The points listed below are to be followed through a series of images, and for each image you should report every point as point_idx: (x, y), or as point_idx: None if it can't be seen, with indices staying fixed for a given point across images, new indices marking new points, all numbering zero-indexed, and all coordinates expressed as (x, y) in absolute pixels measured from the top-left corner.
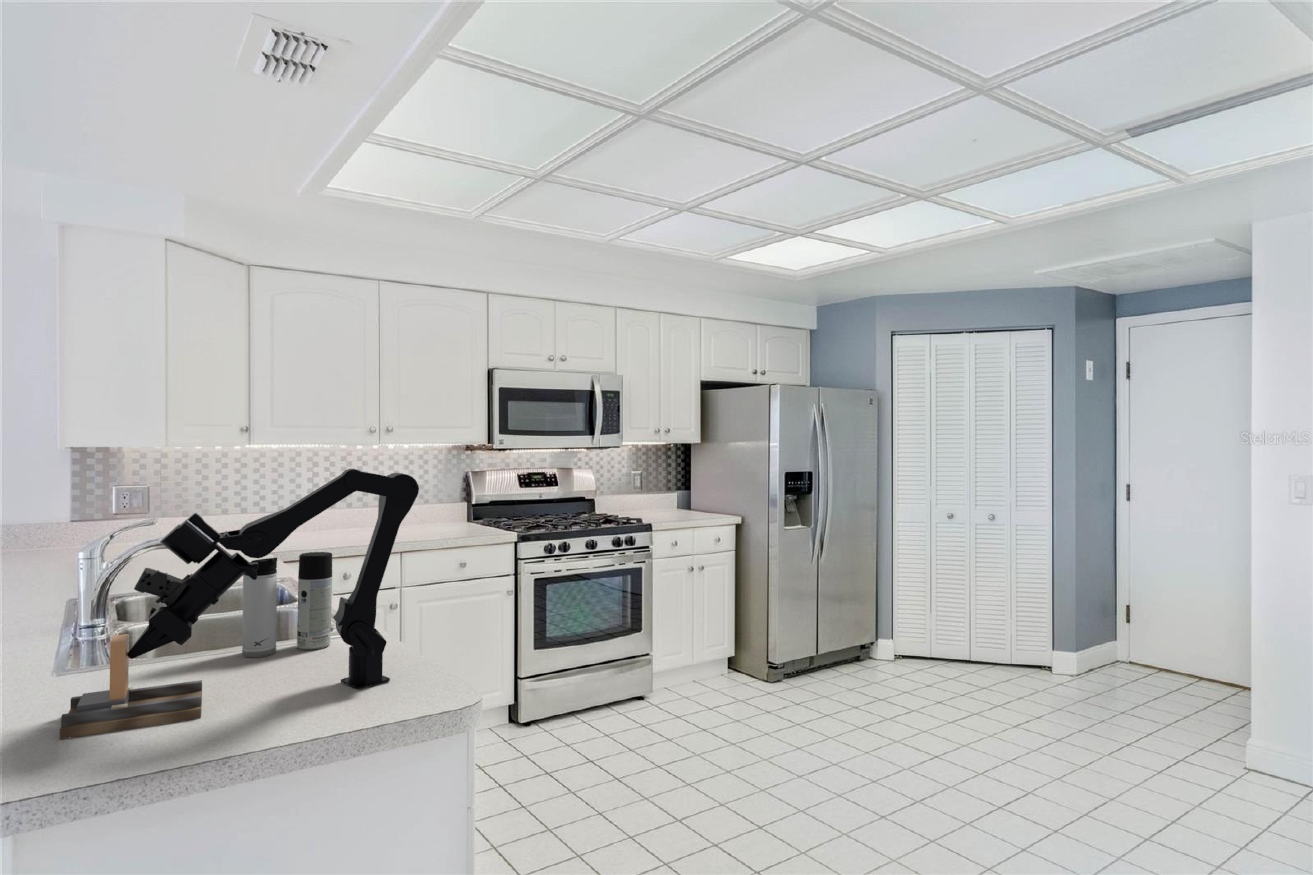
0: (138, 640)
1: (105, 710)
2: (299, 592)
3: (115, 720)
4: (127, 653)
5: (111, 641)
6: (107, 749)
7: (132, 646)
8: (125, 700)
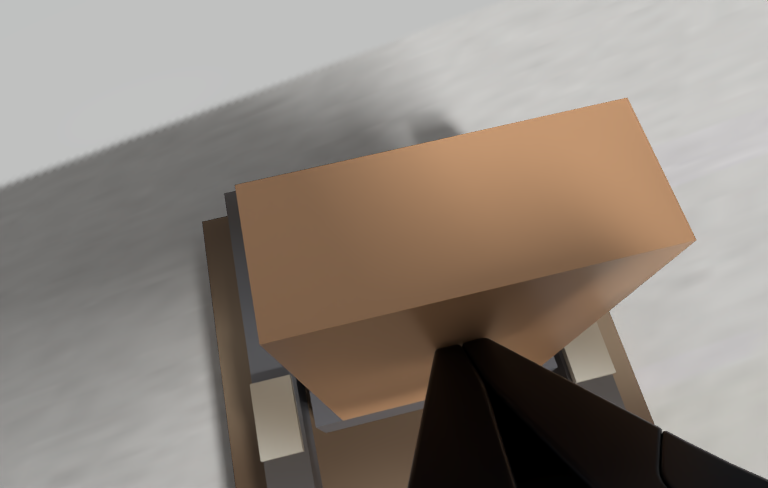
0: (413, 466)
1: (250, 360)
2: None
3: (238, 422)
4: (450, 347)
5: (310, 173)
6: (4, 480)
7: (526, 362)
8: (366, 417)
